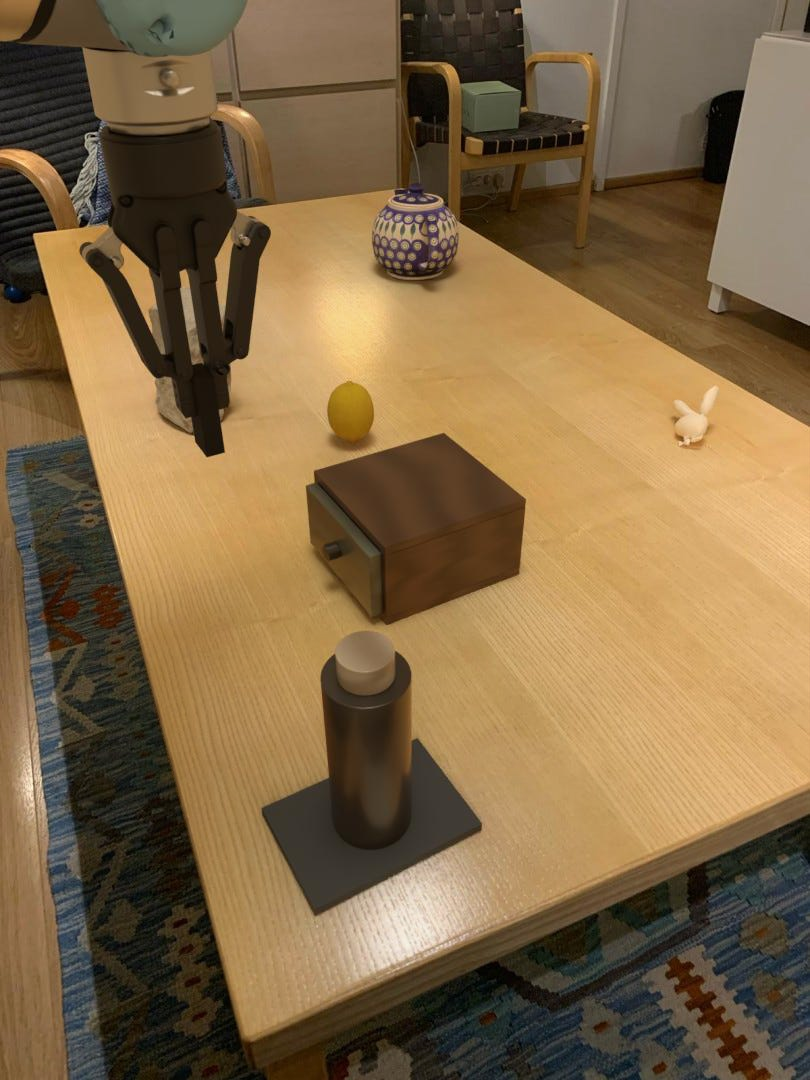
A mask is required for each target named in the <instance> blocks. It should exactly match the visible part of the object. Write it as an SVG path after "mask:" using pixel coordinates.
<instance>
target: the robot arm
mask: <svg viewBox="0 0 810 1080" xmlns="http://www.w3.org/2000/svg"><path fill="white" fill-rule="evenodd" d="M248 1H249V0H0V42H10V43H17V44H21V45H36V46H53V47H54V46H56V47H57V46H58V47H72V48H73V47H74V48H82V54H83V59H84V64H85V69H86V74H87V75H86V76H87V79H88V85H89V90H90V96H91V100H92V106H93V111H94V116H95V117H96V118H98V119H99V120H101V121H102V122H104V123H106V124H105V125H104V126H103V127H102V128H101V131H100V132H99V134H98V138H99V143H100V147H101V152H102V153H101V154H102V157H103V164H104V166H105V167H104V168H105V172H106V177H107V182H108V184H107V185H108V189H109V193H110V208H109V211H108V214H107V226H108V227H107V229H106V230H105V231H104V232H102V234H100V235H99V236H98V237H97V238H96V239H95V240H94V241H93V242H92V241H85V242H82V243H81V245H80V246H79V249H78V252H79V255H80V256H81V258H82V259H83V260H84V261H85V263H86V264H87V266H88V267H90V268H91V270H92V271H93V272H94V273H95V274H97V276H99V277H100V279H101V280H102V282H103V283H104V286H105V288H106V290H107V292H108V294H109V296H110V298H111V300H112V303H113V304H114V306H115V308H116V311H117V313H118V315H119V317H120V319H121V321H122V323H123V326H124V327H125V329H126V331H127V334H128V335H129V338H130V340H131V341H132V344H133V346H134V348H135V350H136V353H137V355H138V356H139V358H140V361H141V362H142V363H143V365H144V366H145V368H146V369H147V371H148V372H149V373H150V374H151V375H152V377H154V378H155V379H156V378H163V377H170V378H171V379H172V385H173V391H174V396H175V402H176V406H177V408H178V409H179V410H180V412H181V413H182V414H183V416H184V417H185V418H189V417H191V419H192V425H193V431H194V433H193V437H194V443H195V444H196V446H197V447H198V448H199V449H200V451H201V452H202V453H203V455H204V456H205V458H211V457H215V456H217V455H223V454H226V451H225V450H226V449H225V443H224V436H223V430H222V420H221V421H220V414H219V410H220V409H224V410H225V409H228V408H229V407H230V402H231V397H230V393H229V390H228V383H227V375H228V374H229V372H230V369H232V367H230V366H231V364H232V363H234V362H235V361H237V360H240V361H241V360H244V359H245V358H247V357H248V356H249V352H250V346H251V345H250V344H251V336H252V327H253V320H254V313H255V305H256V304H255V303H256V295H257V294H256V293H257V286H258V277H259V268H260V262H261V261H260V260H261V257H262V255H263V254H264V251H265V250H266V247H267V245H268V242H269V241H270V239H271V234H272V230H271V227H270V226H268V225H267V224H266V223H265V222H263V221H262V220H260V219H258V218H256V217H255V216H254V215H253V216H252V215H245V214H244V213H243V212H240V211H238V207H237V203H236V202H235V200H234V198H233V197H232V195H231V193H230V191H229V188H228V179H227V171H226V170H227V169H226V162H225V155H224V153H225V151H224V144H223V137H222V129H221V126H219V124H218V123H217V122H216V121H215V120H213V119H211V118H210V117H211V116H213V115H215V114H216V113H217V111H218V110H219V107H218V97H217V90H216V81H215V73H214V65H213V56H212V55H213V54H212V50H213V49H215V48H216V47H218V46H219V45H221V44H222V43H223V42H224V41H225V40H226V39H227V38H228V37H229V35H231V34H232V32H234V30H235V29H236V27H237V25H238V24H239V22H240V20H241V18H242V16H243V15H244V12H245V10H246V7H247V4H248ZM229 233H230V236H229ZM228 236H229V237H230V240H231V242H232V247H231V251H230V259H229V268H228V269H229V270H228V278H227V286H226V287H227V288H226V295H225V296H226V298H225V306H224V307H225V316H224V325H223V331H222V324H221V316H220V309H219V303H220V302H219V296H218V287H217V281H218V273H217V272H218V271H217V265H216V258H217V257H218V256H219V253H220V252H221V249H222V247H223V245H224V243H225V241H226V239H227V237H228ZM122 245H124V246H126V248H127V249H128V250H129V251H130V252H131V253H133V255H135V256H136V257H137V258H138V259H139V260H140V262H142V263H143V264H144V265H145V266H146V267H147V268H148V272H149V276H150V279H151V281H152V286H153V291H154V292H153V293H154V298H155V304H157V309H158V315H159V321H160V326H161V332H162V338H163V343H164V349H165V354H161V353H160V350H159V348H158V346H157V344H156V342H155V339H154V337H153V335H152V330H151V329H150V326H149V325H148V322H147V321H146V318H145V315H144V313H143V312H142V311H143V310H141V307H140V305H139V303H138V300H137V298H136V297H135V293H134V292H133V289H132V288H131V285H130V284H129V282H128V280H127V278H126V277H125V275H124V274H123V272H121V269H122V267H123V266H124V264H125V258H124V256H123V254H122V251H121V248H122ZM184 270H185V272H186V274H187V278H188V284H189V288H190V291H191V297H192V304H193V310H194V317H195V323H196V329H197V336H198V342H199V349H200V355H201V358H202V359H203V363H204V365H203V364H202V363H198V364H194V365H192V361H191V355H190V348H189V342H188V336H187V329H186V323H185V316H184V310H183V304H182V297H181V291H180V288H181V287H182V280H181V279H182V278H181V272H182V271H184ZM229 364H230V366H229Z"/></svg>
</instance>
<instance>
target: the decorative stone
mask: <svg viewBox="0 0 810 1080" xmlns="http://www.w3.org/2000/svg"><path fill="white" fill-rule="evenodd" d="M180 291H181V297H182V304H183V310H184V316H185V323H186V329H187V336H188V342H189V348H190V355H191V361H192V365H194V364H198V363H202V364H203V365H204V363H203V359H202V358H201V355H200V349H199V342H198V336H197V329H196V323H195V317H194V310H193V304H192V297H191V291H190V287H188V286H186V285H181V288H180ZM219 309H220V316H221V324H222V331H223V325H224V316H225V306H224V305H223V304H222V303H221V302H219ZM147 310H148V318H149V321H150V324H151V333H152V335H153V337H154V339H155V342H156V344H157V346H158V348H159V350H160V353H161V354H165V349H164V343H163V338H162V332H161V326H160V321H159V315H158V309H157V304H156V303H154V304H153V305H152V306H150V307H149V308H148V309H147ZM229 366H230V367H231V363H230V364H229ZM231 369H232V367H231ZM231 369H230V372H229V374H228V375H227V383H228V390H229V394H230V393H231V391H232V370H231ZM154 385H155V388H156V396H155V397H156V398H155V404H156V407H157V411H158V412H159V413H160V414H161V415H162V416H163V417H165V419H167V420H168V421H170V422H172V423H173V424H175V425H176V426H178V427H179V428H181V429H183V430H184V431H186V432H187V433H189V434H194V431H193V425H192V419H191V417H189V418H185V417H184V416H183V414H182V413H181V412H180V410H179V409H178V408H177V406H176V402H175V396H174V391H173V385H172V379H171V378H170V377H163V378H155V380H154ZM219 414H220V421H221V422H222V420H223V419H224V415H225V408H224V409H220V410H219Z"/></svg>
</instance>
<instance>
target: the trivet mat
mask: <svg viewBox="0 0 810 1080" xmlns="http://www.w3.org/2000/svg"><path fill="white" fill-rule="evenodd" d="M260 809H261V815H262V817H263V819H264V821H265V823H266V824H267V827H268V828H269V831H270V832H271V834H272V836H273V838H274V840H275V842H276V844H277V846H278V848H279V850H280V852H282V856H283V858H284V859H285V861H286V862H287V865H288V867H289V869H290V871H291V873H292V874H293V877H294V878H295V880H296V882H297V883H298V886H299V888H300V890H301V891H302V893H303V896H304V898H305V899H306V901H307V903H308V905H309V907H310V909H311V910H312V912H313V915H314V916H318V915H320V914H322V913H324V912H326V911H327V910H330V909H331V908H333V907H335V906H337V905H339V904H341V903H343V902H345V901H347V900H348V899H351V898H353V897H354V896H357V895H358V894H360V893H362V892H364V891H366V890H368V889H371V888H372V887H374V886H376V885H378V884H379V883H382V882H384V881H386V880H387V879H389V878H391V877H393V876H395V875H397V874H399V873H401V872H403V871H405V870H407V869H409V868H411V867H413V866H414V865H416V864H418V863H420V862H423V861H424V860H426V859H429V858H431V857H432V856H434V855H436V854H438V853H440V852H442V851H444V850H446V849H448V848H449V847H452V846H453V845H455V844H457V843H459V842H461V841H463V840H465V839H467V838H469V837H471V836H473V835H475V834H477V833H478V832H480V831H482V828H483V823H482V821H481V820H480V818H479V817H478V815H477V814H476V813H475V812H474V811H473V809H472V808H471V807H470V806H469V804H468V802H467V801H466V800H465V798H464V797H463V796H462V795H461V793H460V792H459V791H458V789H457V788H456V786H455V785H454V784H453V783H452V781H451V780H450V779H449V777H448V776H447V775H446V774H445V772H444V771H443V769H442V768H441V767H440V766H439V764H438V763H437V762H436V760H435V759H434V758H433V756H432V755H431V753H429V751H428V750H427V749H426V747H425V745H423V743H422V742H421V740H420V739H419V737H416V738H413V739H412V782H411V822H410V825H409V828H408V829H407V831H406V833H405V834H404V835H403V836H402V837H401V838H400V839H399V840H398V841H397V842H395V843H393V844H392V845H390V846H387V847H384V848H381V849H373V850H368V849H361V848H357V847H354V846H352V845H350V844H348V843H347V842H345V841H344V840H343V839H342V838H341V837H340V836H339V835H338V833H337V832H336V830H335V828H334V825H333V820H332V808H331V797H330V785H329V777H327V778H324V779H323V780H320V781H318V782H316V783H314V784H311V785H309V786H307V787H305V788H302V789H300V790H298V791H295V792H294V793H292V794H289V795H287V796H285V797H283V798H280V799H279V800H276V801H274V802H271V803H269V804H267V805H264V806H263V807H261V808H260Z"/></svg>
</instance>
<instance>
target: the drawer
mask: <svg viewBox="0 0 810 1080" xmlns="http://www.w3.org/2000/svg"><path fill="white" fill-rule="evenodd" d="M305 493H306V504H307V505H306V506H307V516H308V517H307V518H308V528H309V540H310V544H311V545H312V546H313V548H314V549H315V550H316V551H317V553H318V554H319V555H320V556H321V558H322V559H323V560H324V561H325V562H326V564H327V565H328V566H329V567H330V568H331V570H332V571H333V572H334V574H335V575H336V576H337V577H338V579H340V580H341V582H342V583H343V585H345V587H346V588H347V589H348V590H349V592H350V593H351V594H352V596H353V597H354V599H356V600H357V601H358V603H359V604H360V605H361V607H362V608H363V609H364V610H365V611H366V613H367V614H368V615H369V616H370V617H371V618H373V617H377V616H379V614H382V613H383V604H382V563H381V552H380V549H379V548H378V547H377V546H376V545H375V544H374V543H373V542H372V541H371V540H370V539H369V537H368V536H367V535H366V534H365V533H364V532H363V531H362V530H361V529H360V528H359V527H358V525H357V524H356V523H355V522H354V521H353V520H352V519H351V518H350V517H349V516H348V515H347V513H346V512H345V511H344V510H343V509H342V508H341V507H340V506H339V505H338V504H337V503H336V501H335V502H334V501H333V500H332V499H331V497H330V496H329V495H328V494H327V493H326V492H325V491H324V490H323V489H322V488H321V487H320V485H319V484H318V483H317V482H316V483H315V482H313V483H309V484H306V485H305Z"/></svg>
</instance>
